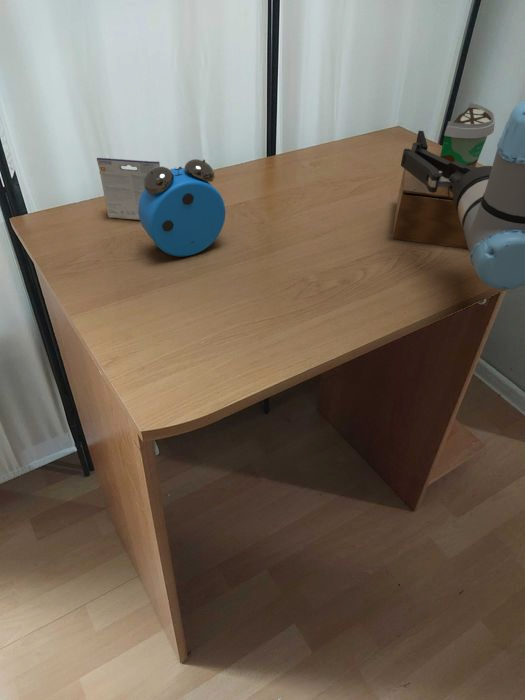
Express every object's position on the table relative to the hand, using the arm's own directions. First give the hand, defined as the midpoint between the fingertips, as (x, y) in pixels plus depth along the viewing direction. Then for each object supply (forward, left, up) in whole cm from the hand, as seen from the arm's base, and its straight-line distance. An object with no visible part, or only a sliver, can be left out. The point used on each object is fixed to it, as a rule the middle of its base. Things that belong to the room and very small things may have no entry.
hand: (461, 141), depth 87 cm
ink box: (+55, -1, -16) cm, 58 cm away
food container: (-3, -3, -7) cm, 8 cm away
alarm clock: (+45, +9, -16) cm, 49 cm away
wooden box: (0, -1, -16) cm, 16 cm away
